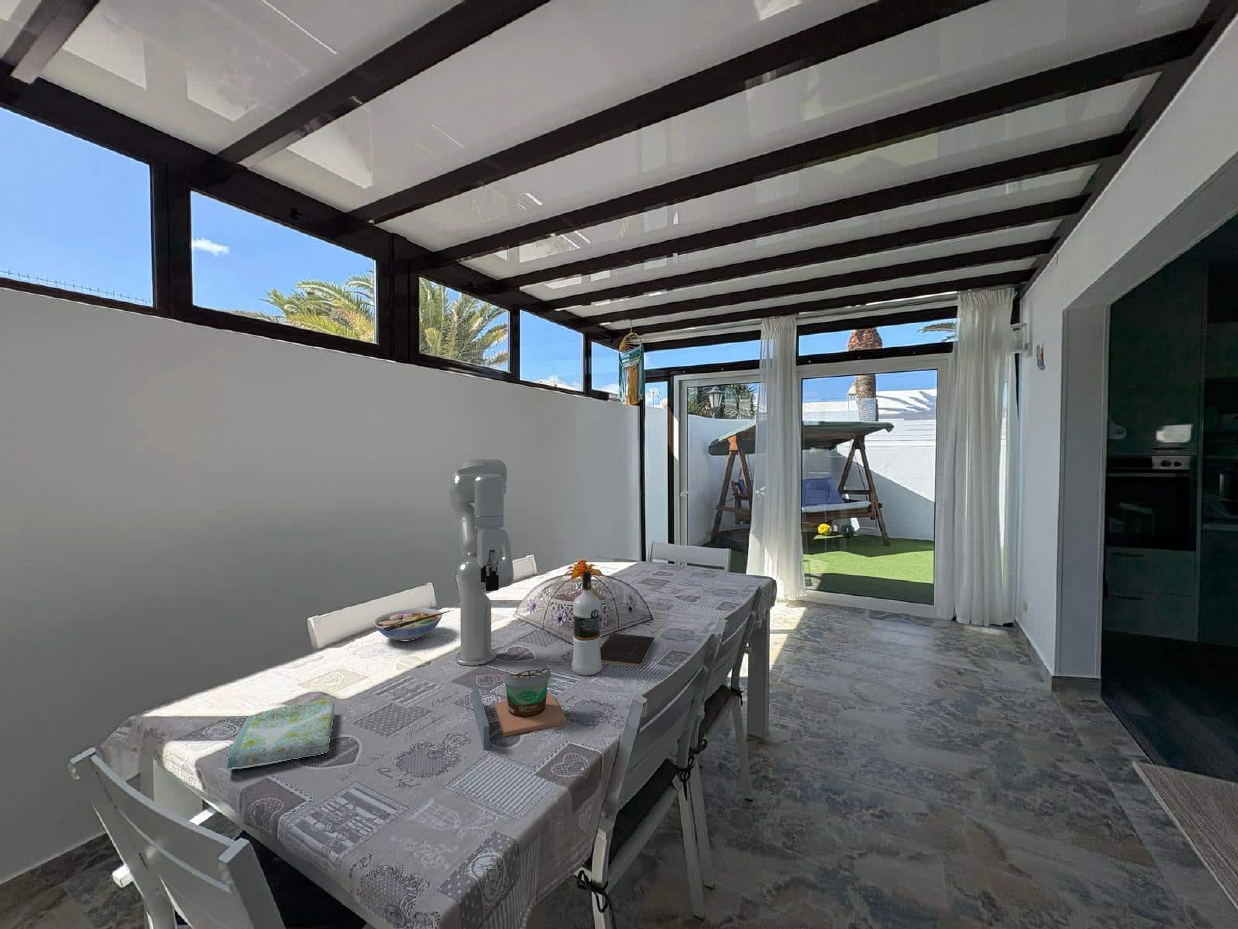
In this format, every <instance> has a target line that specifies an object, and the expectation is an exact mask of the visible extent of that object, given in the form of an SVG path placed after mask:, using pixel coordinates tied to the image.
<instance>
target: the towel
mask: <svg viewBox="0 0 1238 929" xmlns="http://www.w3.org/2000/svg"><path fill="white" fill-rule="evenodd" d="M334 712H335V701H333V700H330V699H321V700H320V699H319V700H313V701H306V702H302V703H301V702H300V703H293V704H288V705H285V706H284V705H283V706H278V707H275V708H271V709H268V710H264V711H259V712H257V713H255V714H252V715H248V717H247V718H246V719H245V721H244V724H243V726H242V727H241V729H240V731H239V732H238V734H237V736H236V738H235V740H234V742H233V744H232V746H231V749H230V750H229V756H228V757H227V765H226V766H227V769H228V768H232V767H243V766H248V765H254V764H259V763H267V762H272V761H278V760H286V759H287V760H288V759H293V758H299V757H303V756H311V755H317V754H321V753H326V752H328V751H329V752H330V744H331V740H330V741H329V739H330V736H331V737H332V735H331V730H332V731H333V729H332V726H333V727H334V724H333V723H332V722H333V719H334V720H335V718H334ZM332 724H333V725H332ZM329 743H330V744H329ZM329 752H328V753H329Z"/></svg>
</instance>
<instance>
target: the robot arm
mask: <svg viewBox="0 0 1238 929" xmlns="http://www.w3.org/2000/svg"><path fill="white" fill-rule="evenodd" d="M507 479H508V469H507V465H506V464H505V462H504V461H502V460H501V459H494V458H493V459H492V458H491V459H489V458H488V459H477V458H476V459H470V460H467V461H465V462H464V463H463V465H462V466H461V468H460V469H457V470H455V471H454V473H453V474H452V478H451V482H450V483H451V484H450V486H449V500H450V503H451V507H452V509H453V512H454V514H455V516H456V518H457V521H458V530H459V532H458V533H459V545H460V546H459V547H460V551H461V552H460V553H461V555H462V557H463V558H466V559H469V560H466V561H463V562H462V563H460V564H459V566H458V567H457V582H458V588H459V597H460V598H459V599H460V602H459V604H460V607H459V608H460V652H458V653H457V654H456V655H455V662H456V663H458V664H459V665H463V666H469V667H470V666H480V665H479V664H481V665H485V664H488V663H490V662H492V661H494V660H495V659H496V658H495V657H497V651H496V650H495V649H493V648H492V600H490V598H489V596H488V595H487V594H486V593H485V592H484V590H485V591H486V592H496V591H499V589H500V588H506V587H510V586H511V585H512V584H513V582H514V578H515V576H514V575H515V574H514V565H513V563H514V562H513V556H512V547H511V542H510V535H509V533H508V532H507V530H505V529H503V528H504V527H505V526H504V525H505V518H504V517H505V516H504V515H505V514H504V513H505V512H504V511H505V510H504V509H505V508H504V507H505V500H504V499H505V498H504V496H505V494H506V492H507ZM472 504H474V505H472ZM494 658H495V659H494ZM493 659H494V660H493ZM489 661H490V662H489ZM487 662H488V663H487Z"/></svg>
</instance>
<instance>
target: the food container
mask: <svg viewBox="0 0 1238 929" xmlns="http://www.w3.org/2000/svg"><path fill="white" fill-rule="evenodd" d="M503 674H504V675H503V676H502V683H503V684H504V685H505V691H506V693H505V694H506V699H507V700H506V701H507V702H508V712H509V713H510V714H511V715H513V716H516V717H523V718H526V717H533V716H536V715H539V714H540V713H542V712H543V711H544V710H545V707H546V697H547V693H548V687H549V686H548V685H549V680H550V679H551V677H552V672H551V668H550V665H549V664H547V667H546V668H542V669H537V670H536V669H533V670H532V669H531V670H530V669H529V670H524V671H521V672H519V673H514V674H511V675H509V674H507V673H506V672H504V673H503Z"/></svg>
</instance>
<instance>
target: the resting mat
mask: <svg viewBox="0 0 1238 929" xmlns="http://www.w3.org/2000/svg"><path fill="white" fill-rule="evenodd" d="M493 707H494V710H495V713H496V716H497V719H498V722H499V725H500V728H501V730H502V734H503V737H508V736H513V735H518V734H522V732H523V733H528V732H532V731H536V730H537V731H538V730H541V729H547V728H552V727H556V726H557V727H558V726H561V725H566V724H567V723H568V722H567V718H566V716H565V714H564V712H563V711H562V708H561V707H560V706H559V704H558V702H557V701H556V699H555V697H554V696H553V694H552V692H547V697H546V707H545V710H544V711H543V712H542V713H540V714H539V715H536V716H533V717H526V718H523V717H516V716H513V715H511V714H510V713H509V712H508V702H507V700H503V701H498V702H494V703H493Z"/></svg>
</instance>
